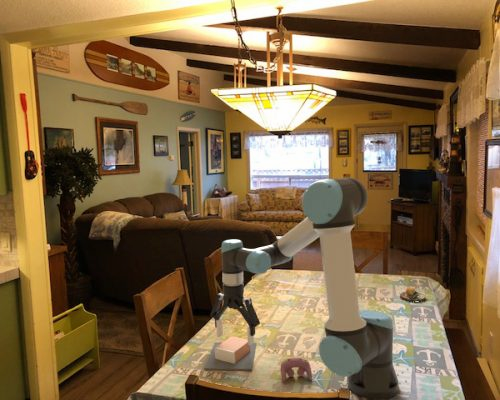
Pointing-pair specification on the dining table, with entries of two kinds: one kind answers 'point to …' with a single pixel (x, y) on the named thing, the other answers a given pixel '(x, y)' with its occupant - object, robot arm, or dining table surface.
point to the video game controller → (295, 362)
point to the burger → (412, 295)
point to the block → (232, 349)
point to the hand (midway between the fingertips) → (235, 340)
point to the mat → (241, 364)
